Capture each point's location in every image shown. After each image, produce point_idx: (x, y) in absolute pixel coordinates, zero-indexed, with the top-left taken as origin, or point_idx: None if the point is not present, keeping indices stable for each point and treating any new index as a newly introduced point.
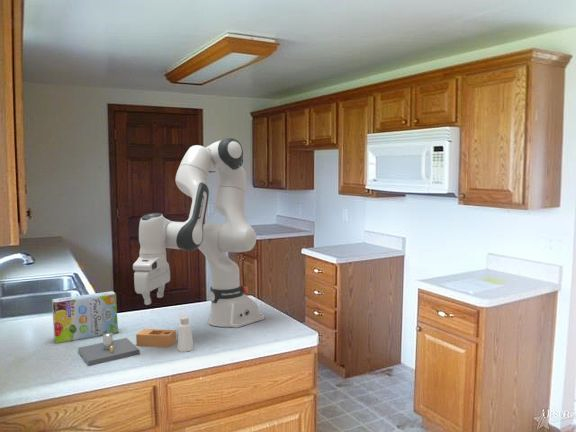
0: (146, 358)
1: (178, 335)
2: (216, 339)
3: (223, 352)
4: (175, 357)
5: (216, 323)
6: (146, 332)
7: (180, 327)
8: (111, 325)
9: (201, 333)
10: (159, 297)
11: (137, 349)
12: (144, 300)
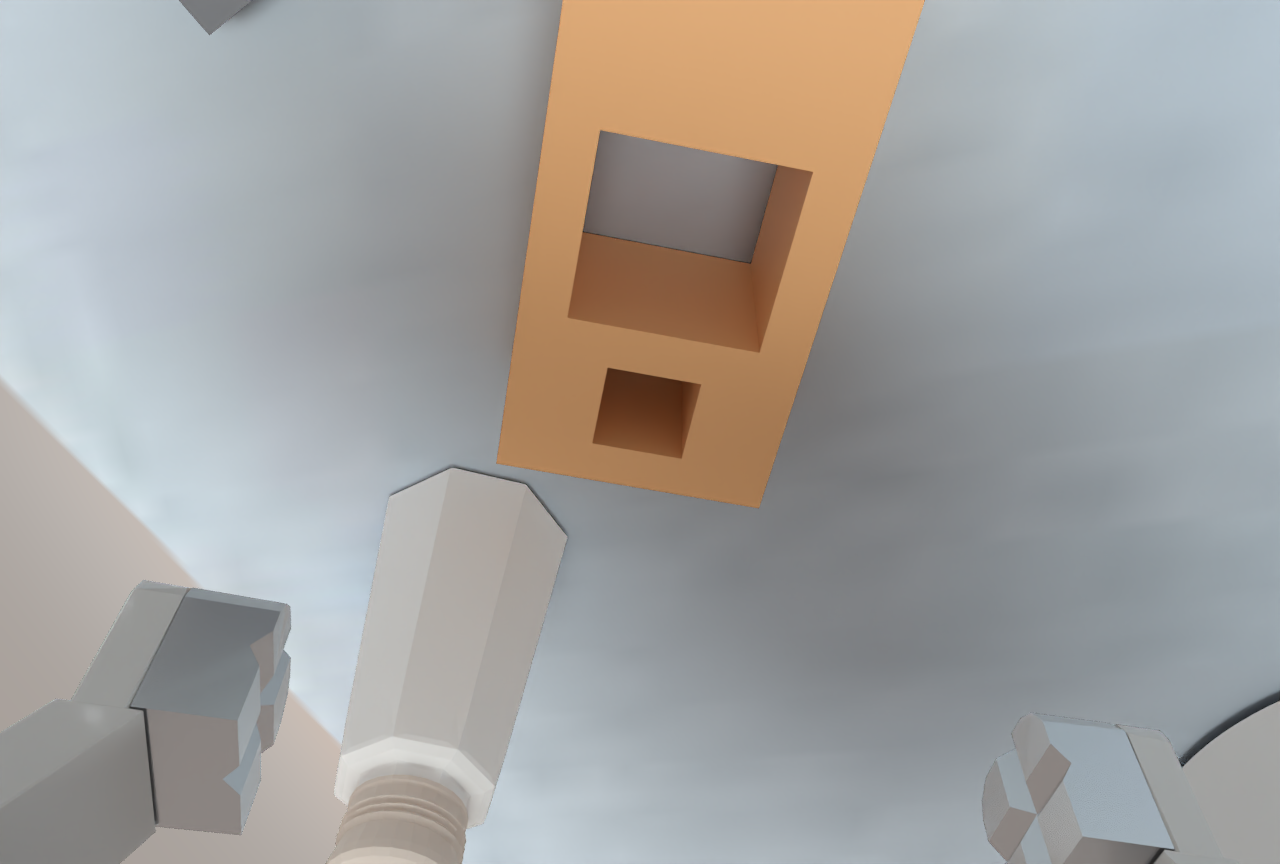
0: (100, 163)
1: (412, 611)
2: (767, 759)
3: None
4: (210, 483)
5: (1231, 768)
6: (687, 74)
7: (343, 742)
8: None
9: (1006, 625)
10: (1014, 751)
11: (209, 1)
12: (92, 668)
